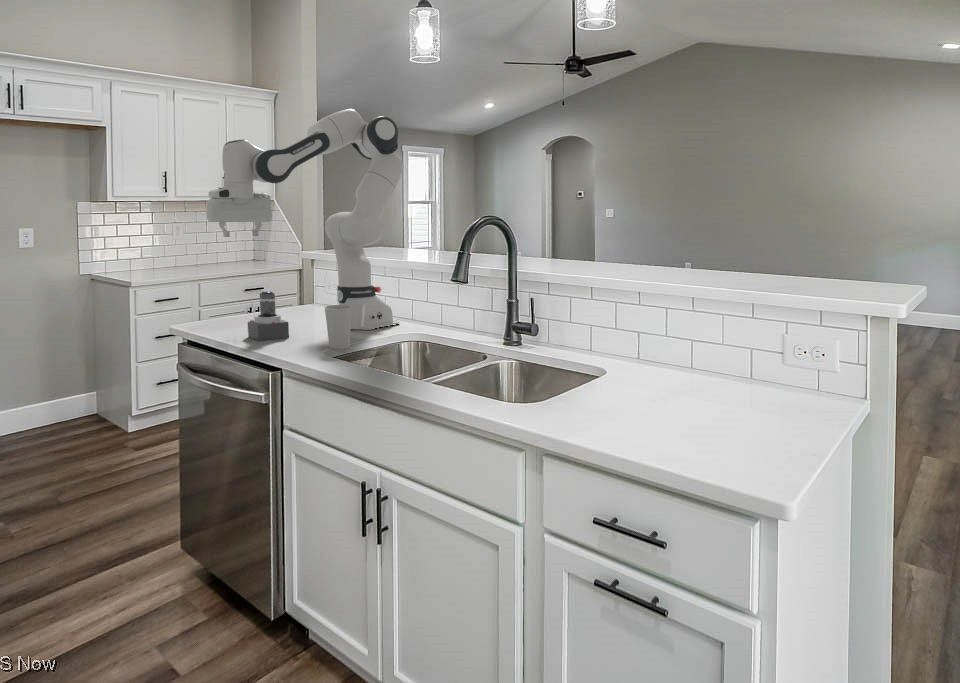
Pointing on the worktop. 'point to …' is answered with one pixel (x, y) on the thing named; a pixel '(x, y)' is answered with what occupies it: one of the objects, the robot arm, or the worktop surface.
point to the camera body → (268, 328)
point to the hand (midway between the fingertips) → (241, 236)
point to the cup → (338, 325)
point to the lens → (267, 304)
